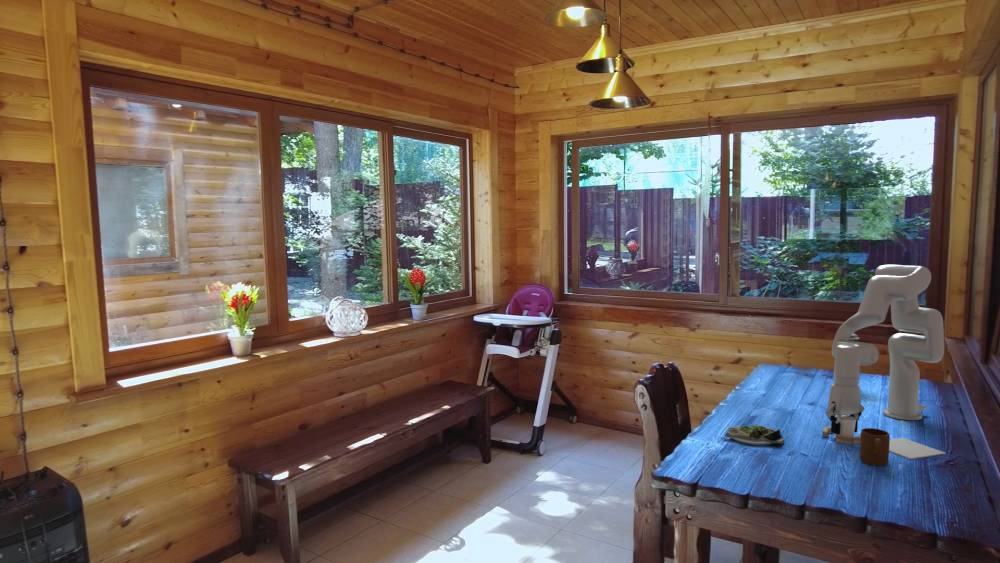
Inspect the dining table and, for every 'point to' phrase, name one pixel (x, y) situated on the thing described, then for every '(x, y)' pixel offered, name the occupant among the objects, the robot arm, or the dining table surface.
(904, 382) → the robot arm
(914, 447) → the rubber mat
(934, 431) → the dining table surface
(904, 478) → the dining table surface
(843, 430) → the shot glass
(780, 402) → the dining table surface
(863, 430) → the mug
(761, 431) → the salad plate
